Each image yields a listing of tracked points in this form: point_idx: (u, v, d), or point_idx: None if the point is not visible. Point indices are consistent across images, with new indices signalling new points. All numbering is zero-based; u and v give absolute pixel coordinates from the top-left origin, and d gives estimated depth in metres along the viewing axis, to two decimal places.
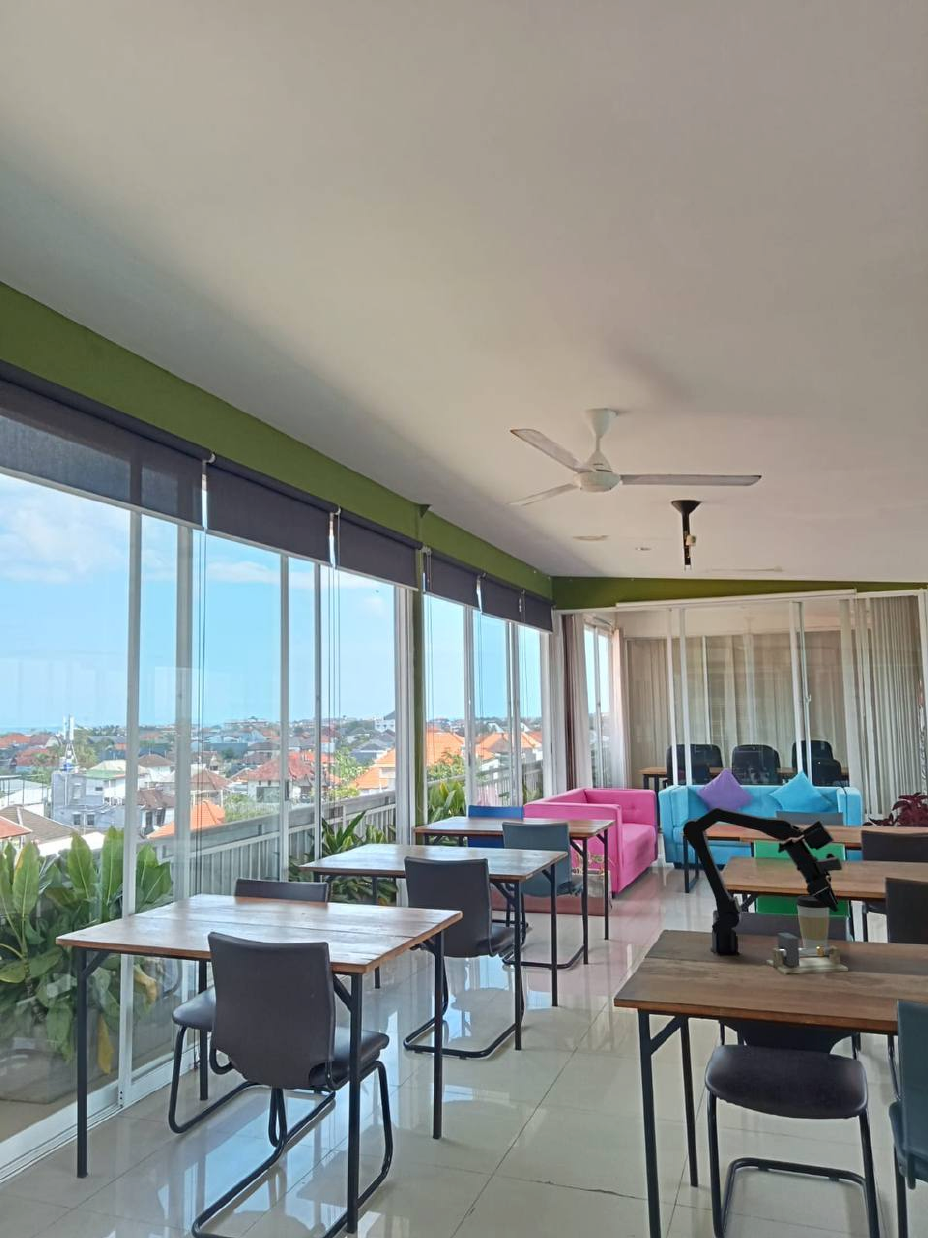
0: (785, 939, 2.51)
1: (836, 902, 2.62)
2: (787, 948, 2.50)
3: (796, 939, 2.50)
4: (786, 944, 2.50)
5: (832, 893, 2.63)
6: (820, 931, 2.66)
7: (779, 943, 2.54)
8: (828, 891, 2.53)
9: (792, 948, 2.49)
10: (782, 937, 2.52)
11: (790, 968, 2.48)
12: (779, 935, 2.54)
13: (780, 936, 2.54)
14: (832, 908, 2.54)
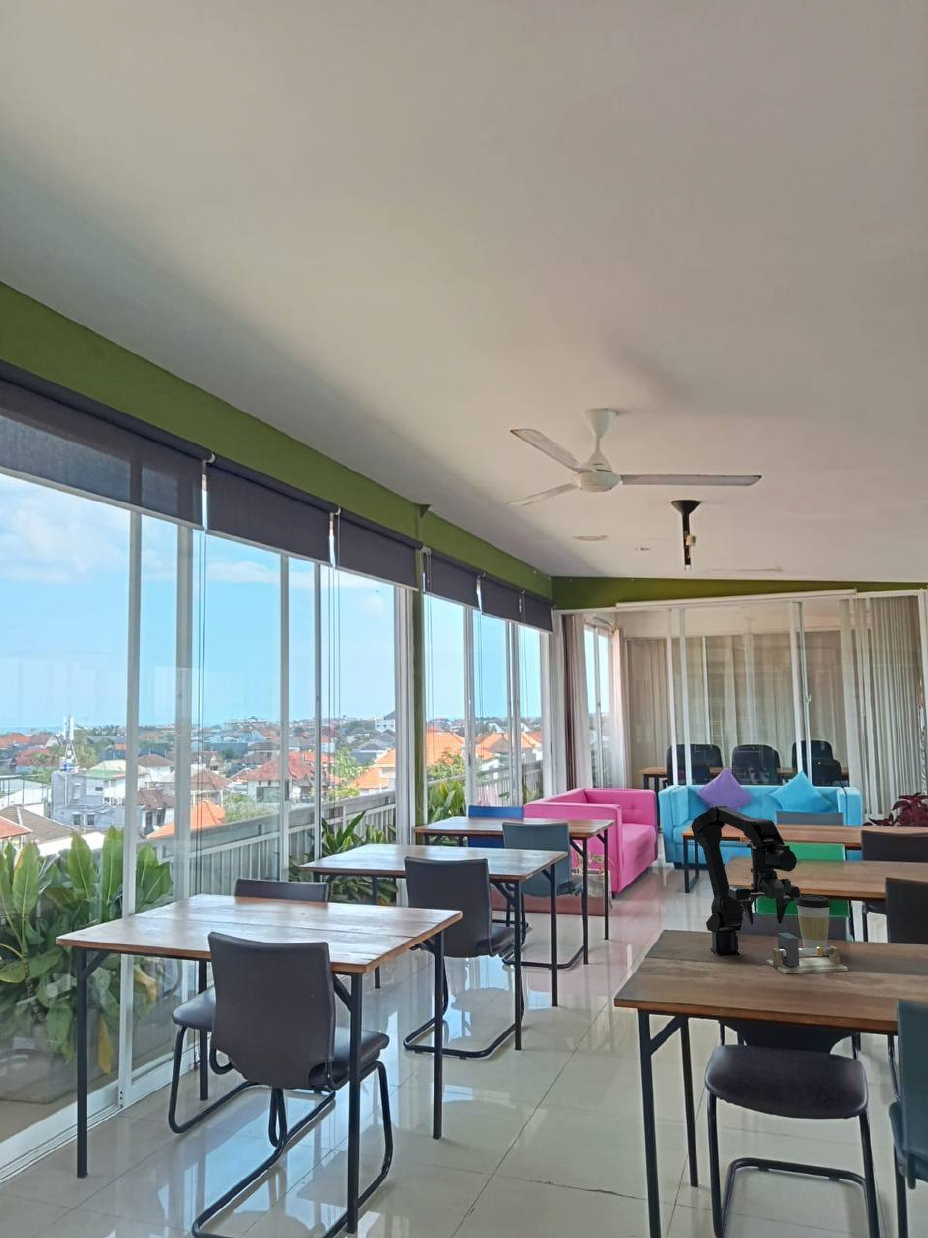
0: (785, 939, 2.51)
1: (779, 921, 2.52)
2: (787, 948, 2.50)
3: (796, 939, 2.50)
4: (786, 944, 2.50)
5: (780, 912, 2.52)
6: (820, 931, 2.66)
7: (779, 943, 2.54)
8: (746, 904, 2.50)
9: (792, 948, 2.49)
10: (782, 937, 2.52)
11: (790, 968, 2.48)
12: (779, 935, 2.54)
13: (780, 936, 2.54)
14: (748, 919, 2.52)
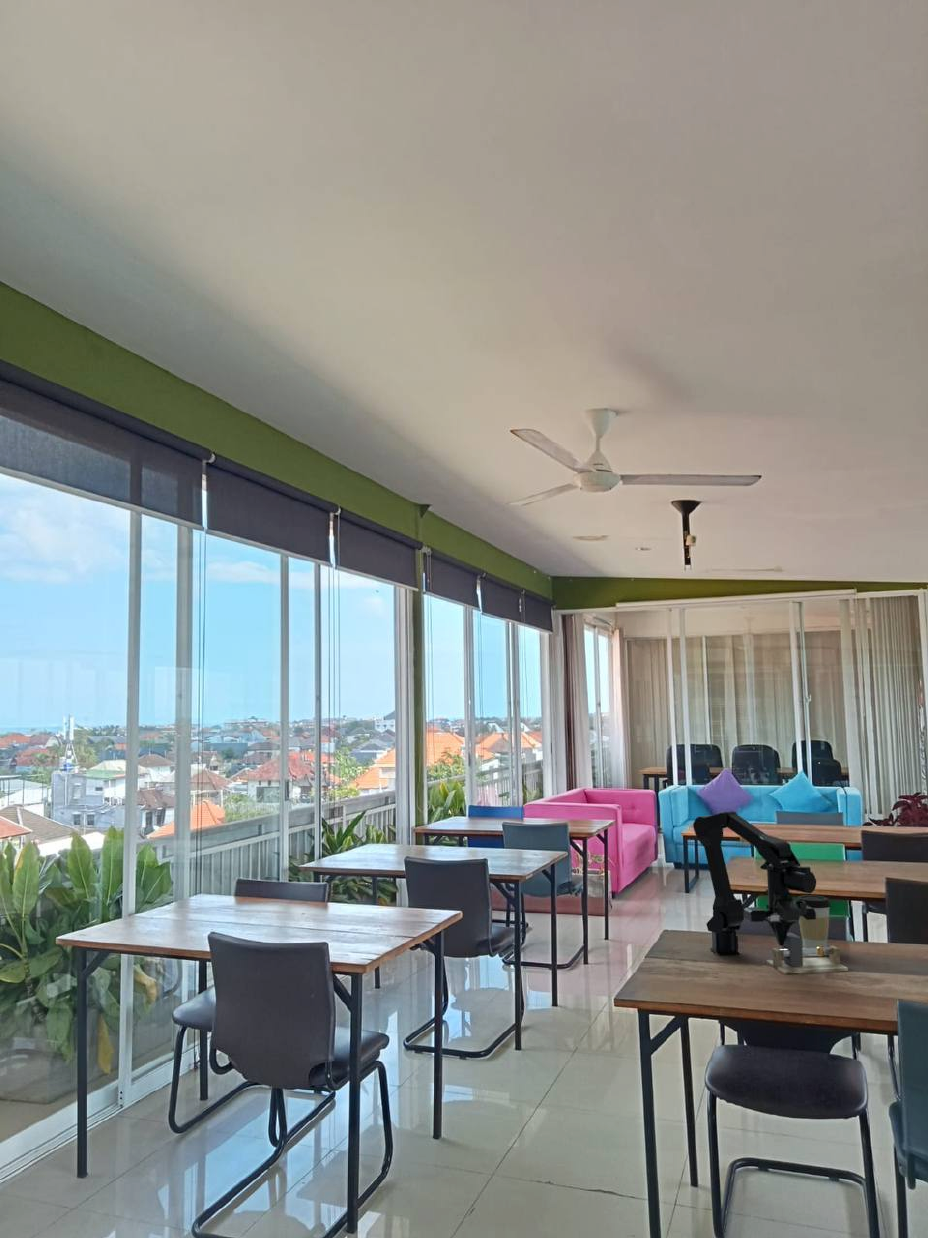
0: (788, 939, 2.51)
1: None
2: (790, 948, 2.50)
3: (799, 939, 2.50)
4: (789, 944, 2.50)
5: (782, 934, 2.52)
6: (820, 931, 2.66)
7: None
8: (775, 925, 2.51)
9: (795, 948, 2.49)
10: None
11: (790, 968, 2.48)
12: None
13: None
14: (777, 940, 2.53)
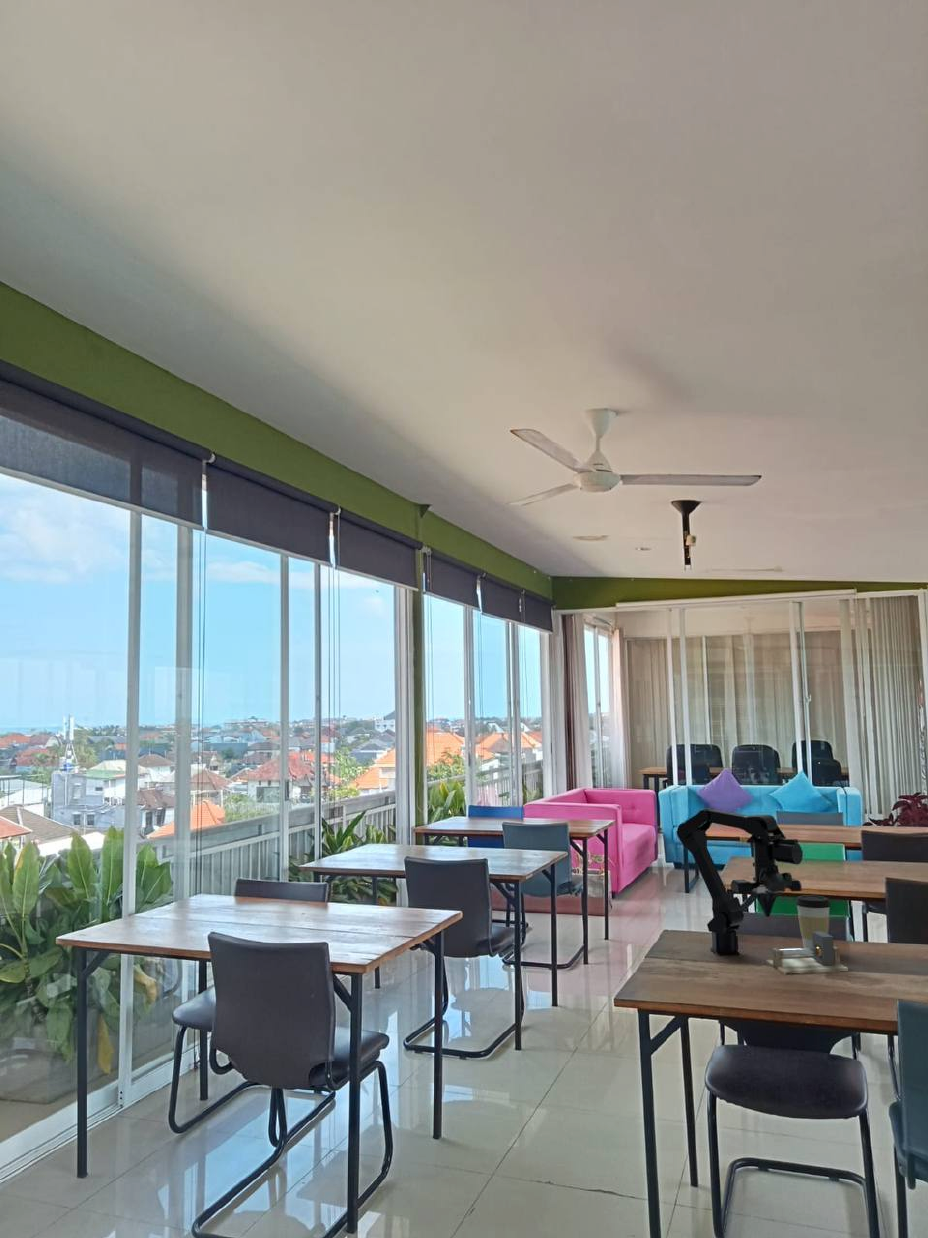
0: (820, 937, 2.52)
1: (767, 914, 2.58)
2: (822, 946, 2.51)
3: (831, 937, 2.51)
4: (821, 942, 2.51)
5: (768, 905, 2.58)
6: None
7: (813, 941, 2.56)
8: (761, 897, 2.57)
9: (827, 946, 2.51)
10: (817, 935, 2.54)
11: (790, 968, 2.48)
12: (813, 933, 2.56)
13: (814, 934, 2.55)
14: (763, 911, 2.59)
